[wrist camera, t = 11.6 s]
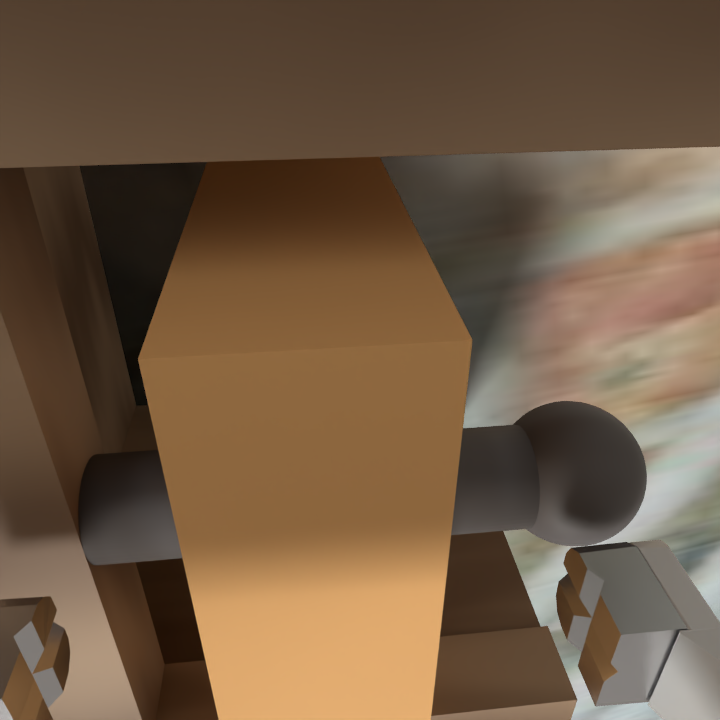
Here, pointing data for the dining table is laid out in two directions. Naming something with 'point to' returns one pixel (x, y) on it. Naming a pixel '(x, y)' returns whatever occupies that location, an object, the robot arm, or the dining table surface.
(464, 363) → the wooden arch block
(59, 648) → the robot arm
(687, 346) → the dining table surface
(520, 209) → the dining table surface
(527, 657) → the notched shelf
